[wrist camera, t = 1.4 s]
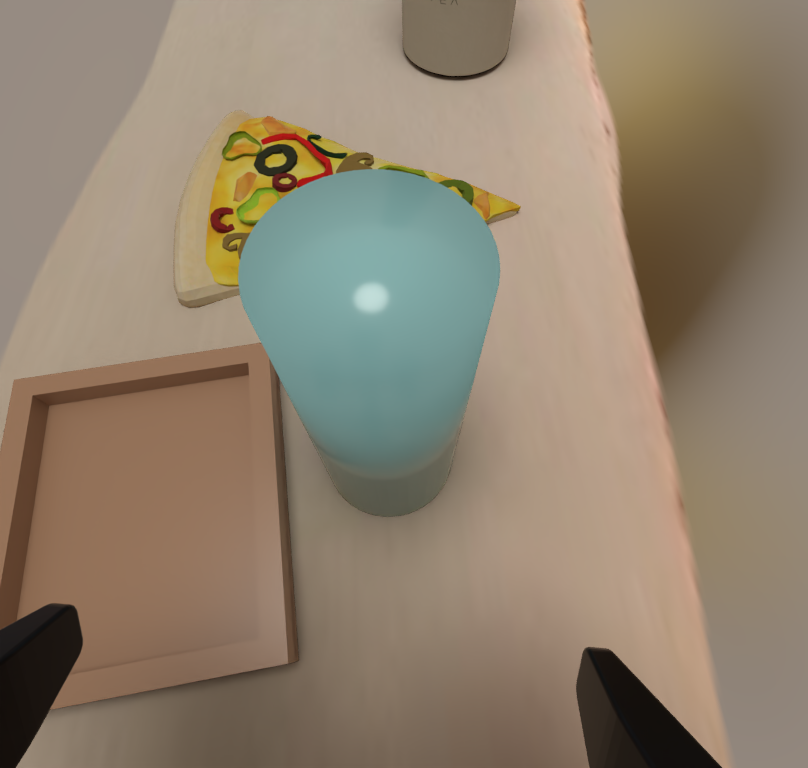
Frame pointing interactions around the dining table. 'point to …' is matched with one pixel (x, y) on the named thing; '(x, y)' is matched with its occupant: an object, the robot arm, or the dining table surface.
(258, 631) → the tray
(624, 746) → the robot arm
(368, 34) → the dining table surface
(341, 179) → the teal rounded cylinder
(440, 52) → the travel mug
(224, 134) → the pizza slice
